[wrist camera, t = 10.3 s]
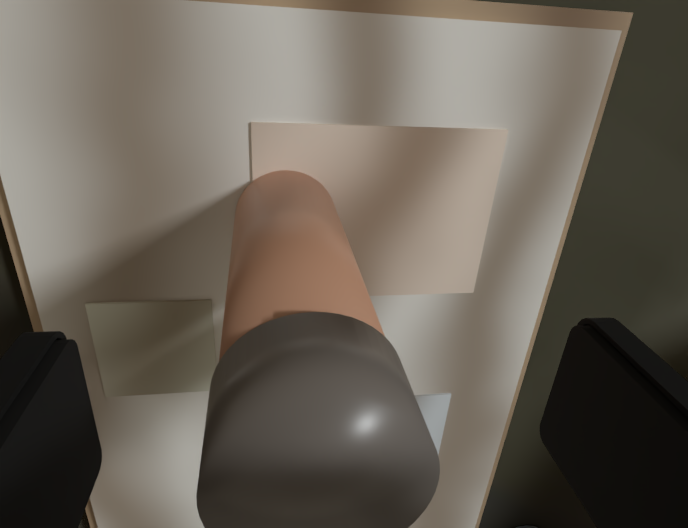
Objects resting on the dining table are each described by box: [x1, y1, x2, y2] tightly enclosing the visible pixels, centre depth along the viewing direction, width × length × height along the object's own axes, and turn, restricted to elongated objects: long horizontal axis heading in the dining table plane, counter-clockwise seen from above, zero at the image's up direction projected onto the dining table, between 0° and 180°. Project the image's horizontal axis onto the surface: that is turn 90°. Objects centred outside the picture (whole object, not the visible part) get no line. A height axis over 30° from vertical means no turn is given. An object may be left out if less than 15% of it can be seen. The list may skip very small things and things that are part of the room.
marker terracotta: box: [196, 170, 440, 528], centre depth 11 cm, size 3×3×10 cm
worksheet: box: [0, 0, 633, 528], centre depth 19 cm, size 19×25×1 cm
